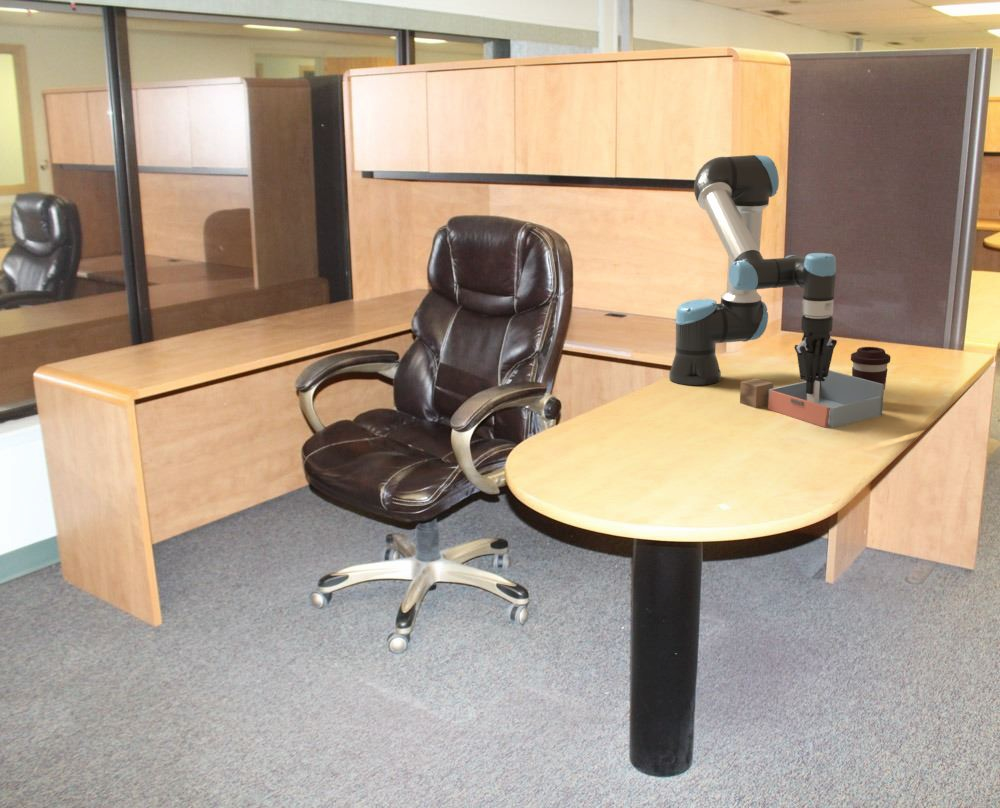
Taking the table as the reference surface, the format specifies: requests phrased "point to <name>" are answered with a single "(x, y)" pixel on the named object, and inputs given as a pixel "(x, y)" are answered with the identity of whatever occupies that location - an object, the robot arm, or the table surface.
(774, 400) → the panel
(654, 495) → the table surface
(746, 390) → the walnut block
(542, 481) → the table surface
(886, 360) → the coffee cup
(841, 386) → the truck bed
